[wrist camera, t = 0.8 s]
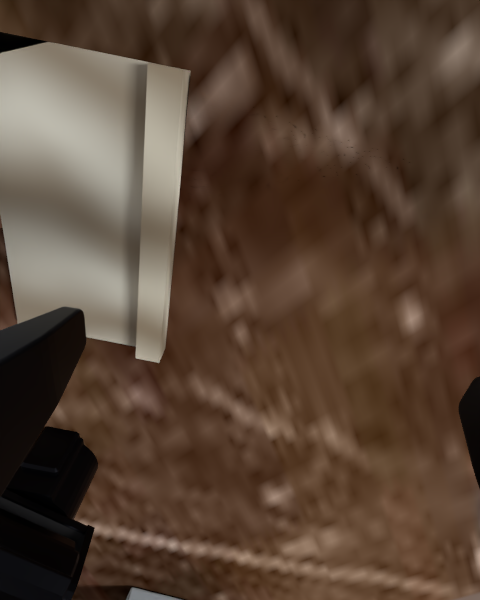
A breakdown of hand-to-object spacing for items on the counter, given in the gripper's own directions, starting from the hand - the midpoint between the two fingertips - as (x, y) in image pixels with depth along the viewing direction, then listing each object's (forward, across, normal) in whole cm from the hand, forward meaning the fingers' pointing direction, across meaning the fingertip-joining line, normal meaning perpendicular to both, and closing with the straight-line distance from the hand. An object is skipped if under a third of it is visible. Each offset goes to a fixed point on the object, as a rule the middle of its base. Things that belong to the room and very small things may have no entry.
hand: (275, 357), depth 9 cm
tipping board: (+13, +6, +3) cm, 14 cm away
